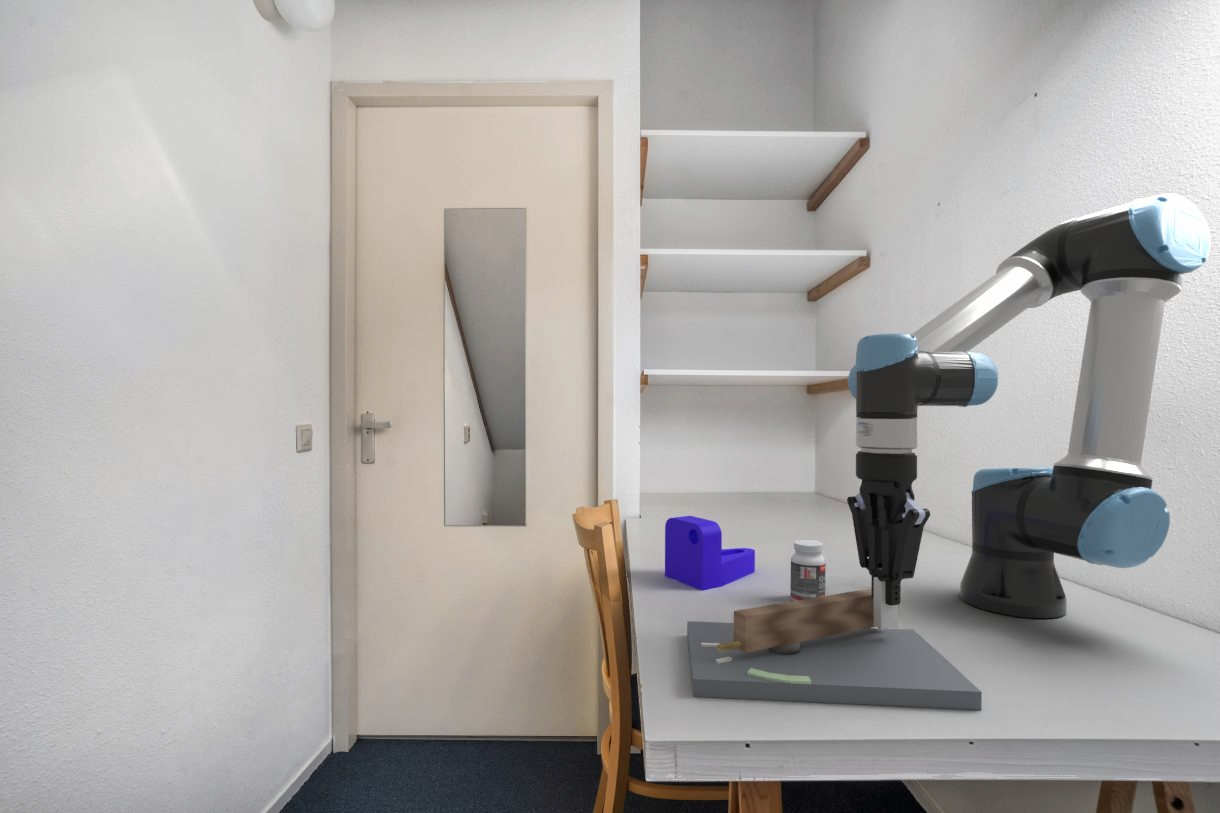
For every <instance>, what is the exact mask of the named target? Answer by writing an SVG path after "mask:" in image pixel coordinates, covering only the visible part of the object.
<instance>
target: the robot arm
mask: <svg viewBox="0 0 1220 813" xmlns="http://www.w3.org/2000/svg"><path fill="white" fill-rule="evenodd" d="M1211 244H1212V243H1211V234H1210V228H1209V225H1208V224H1207V221H1206V218H1205V217H1204V216H1203V214H1202V213H1201V211H1200V209H1199V208H1198V207H1197V206H1196V205H1195V204H1194V203H1193V201H1190V200H1189V198H1188V199H1187V198H1185V197H1184V196H1182V195H1179V194H1176V193H1161V194H1158V195H1154V196H1150V197H1143V198H1137V199H1134V200H1132V201H1131V202H1128V203H1124V204H1121V205H1118V206H1114V207H1111V208H1107V209H1104V210H1101V211H1100V210H1099V211H1098V212H1094V213H1090V214H1086V215H1083V216H1078V217H1075V218H1072V219H1068V220H1066V221H1064V222H1062V223H1059V224H1058V225H1056V226H1054V227H1052V228H1051V229H1048V230H1046V231H1045V232H1044V233H1042V234H1040V235H1039V236H1037V237H1036V238H1034V239H1033V240H1031V241H1030V242H1028V243H1027V244H1025V245H1024V246H1023V247H1021V248H1020V249H1018V250H1017V251H1016V252H1014V253H1013V254H1011V255H1010V256H1009V257H1008V256H1007V258H1005V259H1004V260H1003V261H1002V262H1000V264H999V265H998V266H997V268H996V270H995V274H994V275H992V276H991V277H990V278H988V279H987V280H985V281H984V282H982V283H981V284H980V285H979V286H977V287H976V288H974V289H973V290H972V291H970V292H969V293H967V294H965V296H963V297H962V298H960V299H959V300H957V301H956V302H954V303H953V304H952V305H950V306H948V307H947V309H945V310H943V311H942V312H940V314H938V315H936V316H935V317H933V318H932V319H931V320H930V321H928V322H927V323H925V324H924V325H923V326H921V327H920V328H918V329H917V330H915V331H914V332H912V333H911V334H908V333H880V334H870V335H865V336H864V337H862V338H860V339H859V341H858V342H857V345H856V354H855V364H854V365H853V366H852V368H851V369H850V371H849V373H848V378H847V384H848V389H849V392H850V394H851V395H852V397H853V398H854V399H855V413H856V414H855V417H856V420H855V421H856V422H855V423H856V430H855V433H856V434H855V435H856V436H855V443H856V444H855V445H856V447H858V448H860V450H859V451H857V453H856V454H855V476H856V478H857V479H859V480H861V484H860V486H859V492H858V493H857V494H856V495H855V496H848V497H847V498H846V502H847V503H846V504H847V505H848V507H849V510H850V512H851V517H852V523H853V529H854V530H853V531H854V535H855V536H854V537H855V542H856V549H857V554H858V560H859V562H858V563H859V566H860V567H861V568H862V569H866V570H868V574H869V575H870V576H871V588H872V598H873V599H874V626H875V627H874V628H879V629H897V628H898V627H899V605H900V604H901V594H902V593H901V587H902V586H901V583H902V581H903V580H907V579H913V578H914V576H915V572H916V567H917V562H918V558H919V552H920V547H921V543H922V537H923V534H924V533H923V531H924V528H925V526H926V523H928V520H929V518H930V517H931V511H930V510H929V509H928V508H921V507H920V506H919V505H918V504H917V502H916V501H915V499H916V498H915V493H914V491H913V487H912V484H913V483H914V481H916V480H917V478H918V455H916V453H915V452H913V450H914V449H915V450H916V449H917V447H918V407H924V406H927V407H962V408H966V407H968V406H969V407H970V406H971V407H972V406H980V405H982V404H985V403H987V402H988V401H989V400H991V398H992V397H993V396H994V395H995V393H996V391H997V389H998V386H999V381H998V380H999V377H998V376H999V371H998V368H997V366H996V363H995V362H994V361H993V360H992V359H991V358H990V356H988V355H986V354H984V353H982V352H981V353H980V352H970V351H971V350H973V349H974V348H975V347H977V345H979V344H981V342H983V341H986V339H987V338H989V337H990V336H991V335H993V334H994V333H995V332H997V331H998V330H1000V329H1001V328H1003V327H1004V326H1005V325H1006V324H1008V323H1009V322H1011V321H1012V320H1013V319H1014V318H1016V317H1017V316H1019V315H1020V314H1022V313H1023V312H1024V311H1026V310H1027V309H1034V308H1035V309H1036V308H1039V307H1041V306H1043V305H1045V304H1046V303H1047V302H1049V301H1050V300H1052V299H1054V298H1056V297H1058V296H1061V295H1065V294H1069V293H1072V292H1078V291H1080V293H1081V294H1082V295H1083V296H1084V297H1086V299H1088V301H1089V302H1090V308H1089V312H1088V313H1089V314H1088V319H1087V326H1086V333H1085V338H1084V339H1085V340H1084V347H1083V354H1082V359H1081V364H1080V366H1081V367H1080V370H1079V371H1080V373H1079V379H1078V386H1077V389H1076V390H1077V393H1076V396H1075V397H1076V398H1075V404H1074V412H1073V417H1072V424H1071V431H1070V437H1069V443H1068V449H1067V450H1068V451H1067V454H1066V455H1065V456H1064V457H1062V458H1061V459H1060V460H1059V459H1058V461H1057V462H1055V463H1053V467H1051V466H1048V467H1047V466H1044V467H1042V466H1039V467H1036V466H1035V467H1011V468H1010V467H1008V468H1005V467H1003V468H1002V467H1001V468H999V467H998V468H983V469H979V470H977V472H976V473H975V474H974V476H973V481H972V490H971V492H970V493H971V533H972V534H971V535H972V536H971V538H972V539H971V541H972V543H971V545H972V546H971V555H970V558H969V561H968V562H967V566H966V569H965V571H964V574H963V575H962V579H961V580H960V583H959V584H960V585H959V597H960V599H961V600H962V601H963V602H965V603H967V604H969V605H971V606H973V607H976V608H978V609H982V610H984V611H985V610H986V611H988V612H993V613H996V614H1001V615H1006V616H1013V617H1021V618H1029V619H1030V618H1031V619H1051V618H1052V619H1053V618H1060V617H1062V616H1064V615H1066V614H1067V610H1068V609H1067V608H1068V607H1067V606H1068V605H1067V604H1068V602H1067V600H1068V599H1067V596H1066V593H1065V591H1064V587H1063V585H1062V582H1061V579H1060V576H1059V574H1058V571H1057V568H1056V565H1055V554H1056V555H1061V556H1065V557H1069V558H1073V559H1077V560H1082V561H1085V562H1087V563H1088V564H1091V565H1098V566H1108V567H1111V568H1117V569H1130V568H1135V567H1139V566H1140V565H1142V564H1144V563H1146V562H1147V561H1148V560H1149V559H1150V558H1153V557H1154V556H1155V555H1156V554H1157V552H1158V551H1159V550H1160V549H1161V547H1162V546H1163V545H1164V542H1165V540H1166V538H1167V536H1168V533H1169V530H1170V529H1169V528H1170V523H1171V522H1170V521H1171V519H1170V510H1169V509H1168V508H1166V507H1167V505H1168V504H1167V502H1166V500H1165V498H1163V496H1161V494H1159V493H1157V492H1156V491H1154V490H1153V489H1152V486H1153V476H1152V475H1151V474H1150V473H1148V472H1147V471H1146V470H1145V468H1144V467H1143V466H1142V460H1143V450H1144V444H1145V438H1146V431H1147V425H1148V416H1149V412H1150V404H1151V397H1152V391H1153V383H1154V379H1155V370H1156V365H1157V359H1158V352H1159V345H1160V338H1161V331H1162V330H1161V329H1162V323H1163V318H1164V311H1165V306H1166V303H1167V302H1168V301H1170V300H1172V299H1173V298H1174V297H1176V296H1177V295H1179V294H1180V293H1181V290H1182V284H1183V278H1184V277H1183V276H1184V275H1185V274H1189V273H1193V272H1194V271H1196V270H1198V269H1199V268H1201V267H1202V266H1203V264H1204V263H1206V261H1207V259H1208V257H1209V255H1210V254H1209V253H1210V250H1211Z"/></svg>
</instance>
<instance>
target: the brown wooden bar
mask: <svg viewBox="0 0 1220 813" xmlns="http://www.w3.org/2000/svg"><path fill="white" fill-rule="evenodd" d="M733 623H734V636H733V642H729V643H723V644H718V645H717V650H719V651H720V652H723V651H728V650H733V649H740V650H741V651H743V652H745V653H747V652H752V651H757V650H762V649H767V648H768V649H769V650H771V651H773V652H775V653H779V654H787V655H790V654H796V653H798V652H800V642H802V641H807V640H812V639H817V638H822V637H827V636H832V635H837V634H842V633H847V632H852V631H857V630H862V629H867V628H876V627H875V626H874V599H873V598H872V587H871V588H864V589H859V590H854V591H848V592H843V593H842V592H841V593H840V592H839V593H834V594H828V595H825V596H822V597H816V598H810V599H804V600H797V601H793V600H792V601H787V602H781V603H779V602H778V603H773V604H769V605H767V604H766V605H761V606H756V607H754V606H753V607H751V608H744V609H737V610H733Z"/></svg>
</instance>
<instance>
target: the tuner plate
mask: <svg viewBox="0 0 1220 813" xmlns="http://www.w3.org/2000/svg"><path fill="white" fill-rule="evenodd" d="M686 623H687V625H686V626H687V632H686V634H687V636H686V637H687V638H686V639H687V646H688V656H689V665H690V677H691V688H692V697H696V698H697V697H699V698H716V699H717V698H719V699H721V698H722V699H738V700H741V699H742V700H759V701H760V700H762V701H764V700H765V701H767V700H768V701H784V702H785V701H786V702H805V703H825V704H826V703H828V704H846V705H847V704H849V705H850V704H851V705H868V706H870V705H871V706H892V707H893V706H894V707H908V708H910V707H912V708H931V709H932V708H933V709H934V708H935V709H950V710H951V709H956V710H957V709H958V710H972V711H973V710H976V711H977V710H978V711H981V710H982V697H983V696H982V691H981V689H979V688H978V687H977V686H976V685H975V684H974V683H973V682H972V681H970V680H969V679H968V678H967V677H966V676H965V675H964V674H962V672H961V671H959V670H958V669H957V668H956V667H955V666H954V665H953V664H952V663H951V662H950V661H949V660H947V659H946V658H945V656H943V655H942V654H941V653H940V652H939V651H938V650H936V648H934V647H933V646H932V645H931V644H930V643H929V642H928V641H927V640H925V639H924V638H923V636H921V635H920V634H919V633H918V632H917V631H915V629H908V628H903V629H902V628H889V629H879V628H877V627H872V628H867V629H862V630H857V631H852V632H847V633H842V634H837V635H832V636H827V637H822V638H817V639H812V640H807V641H802V642H800V652H798V653H796V654H790V655H787V654H779V653H775V652H773V651H771V650H769V649H768V648H767V649H762V650H757V651H752V652H747V653H745V652H743V651H741V650H740V649H733V650H728V651H723V652H720V651H719V650H717V645H718V644H723V643H729V642H733V636H734V622H721V621H720V622H719V621H716V622H715V621H714V622H713V621H687V622H686Z"/></svg>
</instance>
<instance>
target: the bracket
mask: <svg viewBox="0 0 1220 813" xmlns="http://www.w3.org/2000/svg"><path fill="white" fill-rule="evenodd" d="M664 526H665V527H664V577H665V578H668V579H671V580H673V581H676V582H678V583H682V584H683V585H687V586H690V587H692V588H694V589H696V590H700V591H702V592H704V591H708V590H712V589H717V588H722V587H724V586H726V585H730V584H731V583H734V582H735V581H738V580H740V579H742V578H745V577H747V576H750V575H751V574H754V573H755V572H756V550H755V549H753V548H748V547H739V548H738V547H737V548H736V547H735V548H724V549H723V548H722V546H723V545H722V544H723V543H722V542H723V541H722V539H723V536H722V528H721V527H720V526H719V523H717V522H716V521H714V520H711V519H710V520H709V519H707V518H701V517H697V516H694V515H685V516H684V515H683V516H676V517H675V516H674V517H669V518H667V520H666V521H665V525H664Z"/></svg>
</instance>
